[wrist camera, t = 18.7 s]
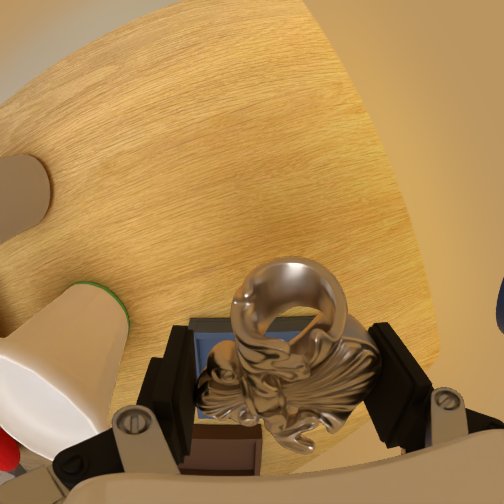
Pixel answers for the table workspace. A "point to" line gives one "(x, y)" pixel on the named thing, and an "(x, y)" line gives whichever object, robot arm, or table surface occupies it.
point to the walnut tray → (224, 451)
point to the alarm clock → (11, 474)
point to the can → (22, 194)
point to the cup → (63, 370)
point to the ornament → (290, 357)
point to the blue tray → (221, 329)
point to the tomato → (8, 452)
